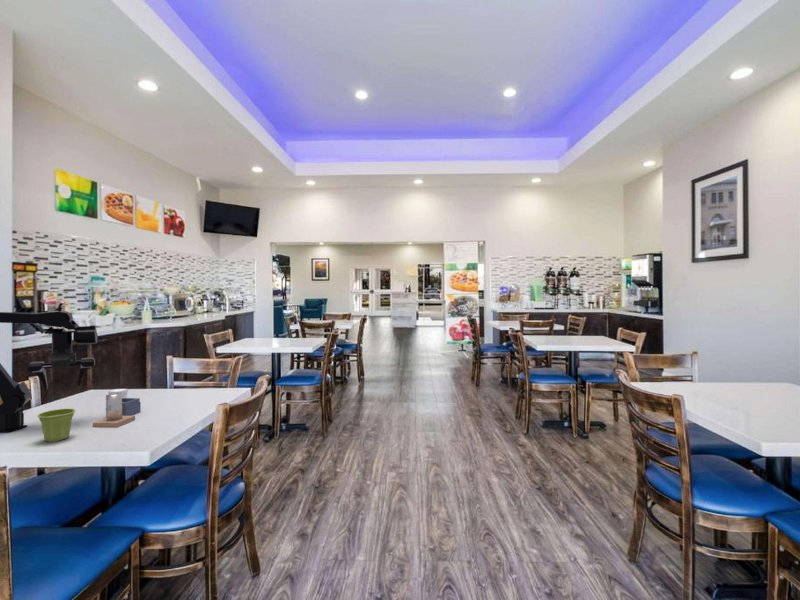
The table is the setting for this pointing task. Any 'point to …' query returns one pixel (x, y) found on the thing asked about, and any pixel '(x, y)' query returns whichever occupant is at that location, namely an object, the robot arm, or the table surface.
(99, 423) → the tan flat square slab
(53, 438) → the plant pot
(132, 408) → the dark blue ridged block
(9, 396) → the robot arm
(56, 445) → the table surface
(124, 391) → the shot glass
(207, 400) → the table surface
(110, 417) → the silver metal cylinder
